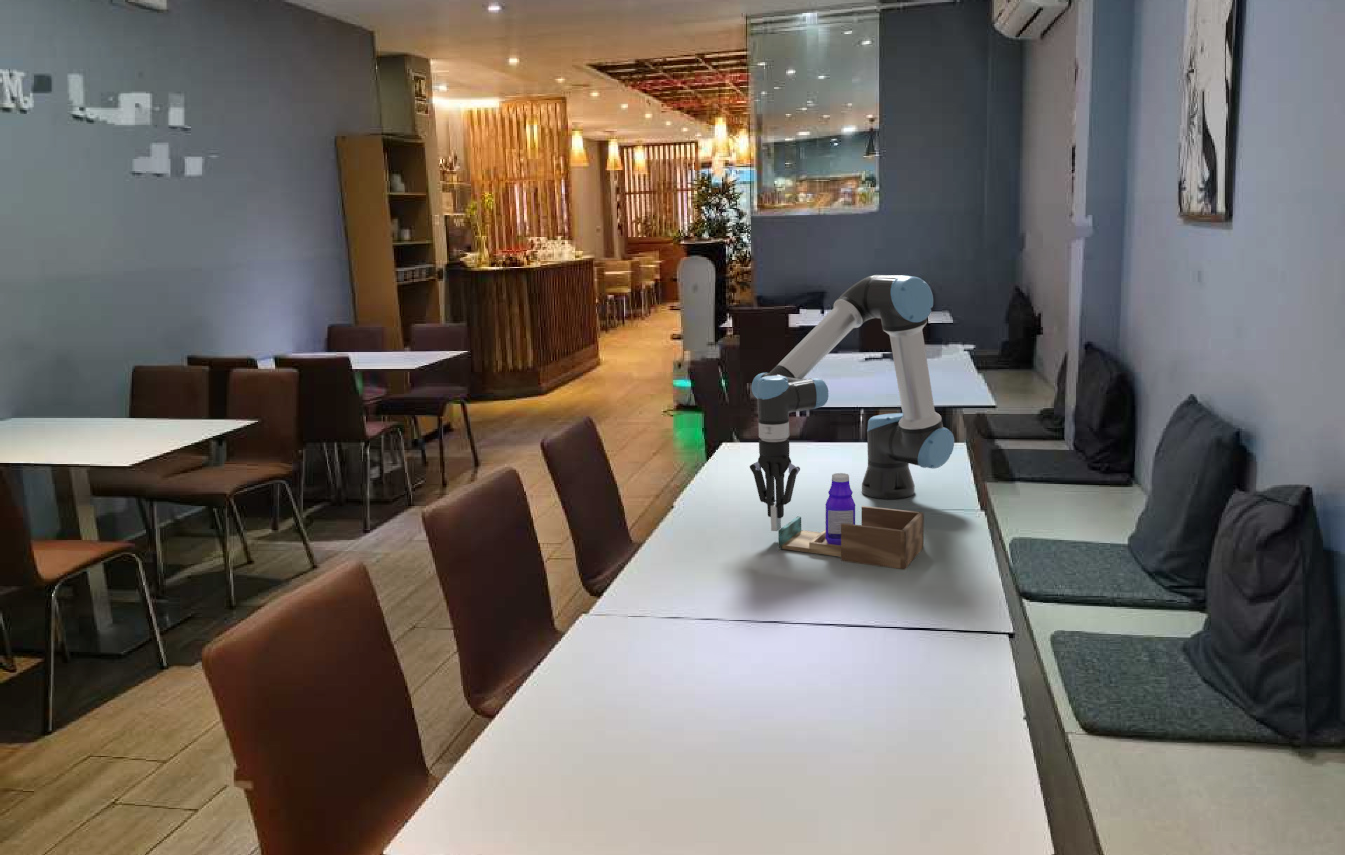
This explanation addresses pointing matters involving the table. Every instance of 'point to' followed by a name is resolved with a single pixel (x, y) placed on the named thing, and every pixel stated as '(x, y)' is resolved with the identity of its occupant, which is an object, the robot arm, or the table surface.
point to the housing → (883, 537)
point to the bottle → (839, 508)
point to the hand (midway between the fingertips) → (776, 529)
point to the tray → (805, 540)
